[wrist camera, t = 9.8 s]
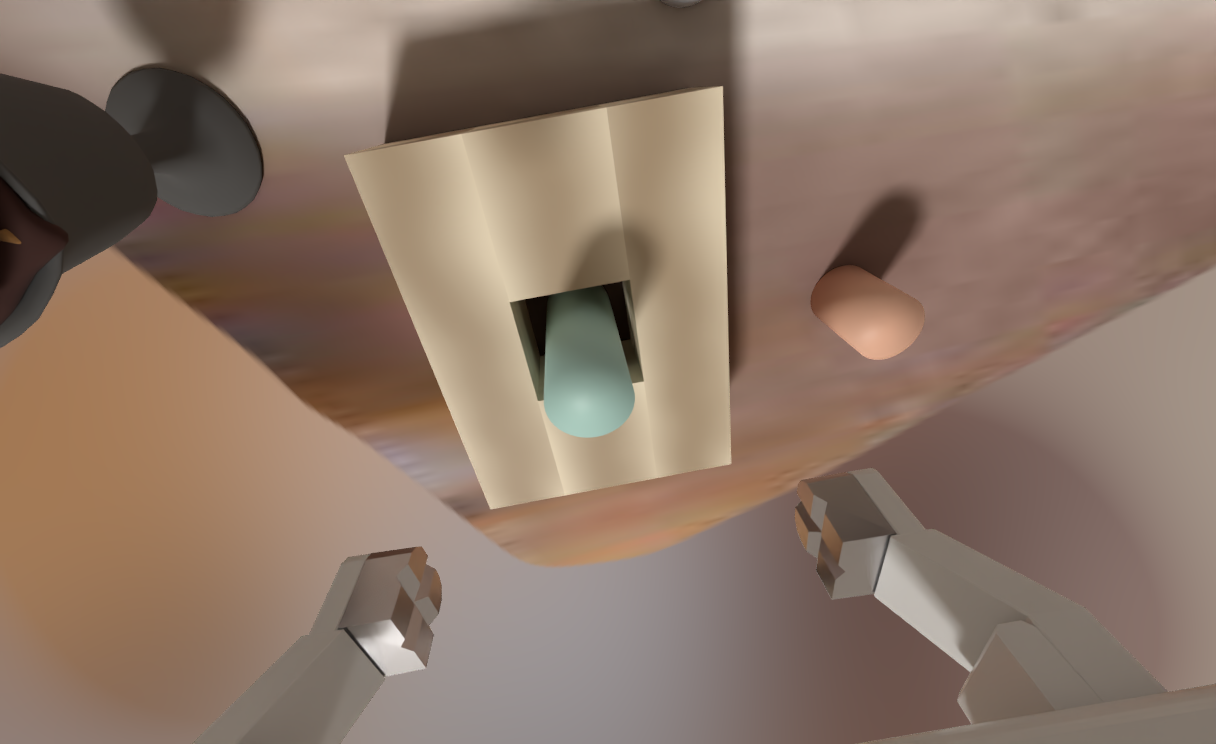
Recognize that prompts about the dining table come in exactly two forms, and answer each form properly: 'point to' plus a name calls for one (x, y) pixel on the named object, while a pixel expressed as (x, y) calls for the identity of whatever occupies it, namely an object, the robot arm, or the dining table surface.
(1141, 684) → the robot arm
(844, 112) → the dining table surface
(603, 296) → the long dowel
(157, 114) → the sundae
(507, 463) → the hole block
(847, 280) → the short dowel
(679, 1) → the medium dowel
